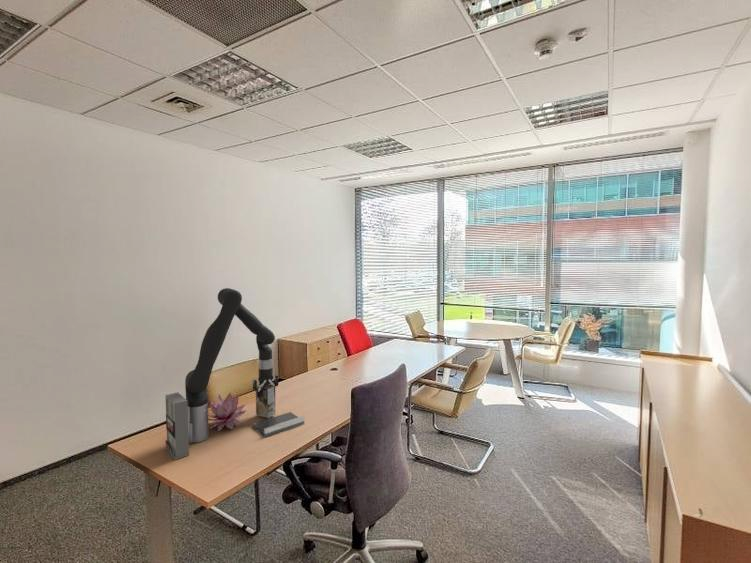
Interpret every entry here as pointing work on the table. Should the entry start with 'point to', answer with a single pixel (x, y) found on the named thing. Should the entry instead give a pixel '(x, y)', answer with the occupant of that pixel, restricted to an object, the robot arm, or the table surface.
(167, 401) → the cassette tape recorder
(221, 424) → the decorative flower
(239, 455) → the table surface
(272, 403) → the coffee box
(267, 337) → the robot arm
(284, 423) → the shelf
